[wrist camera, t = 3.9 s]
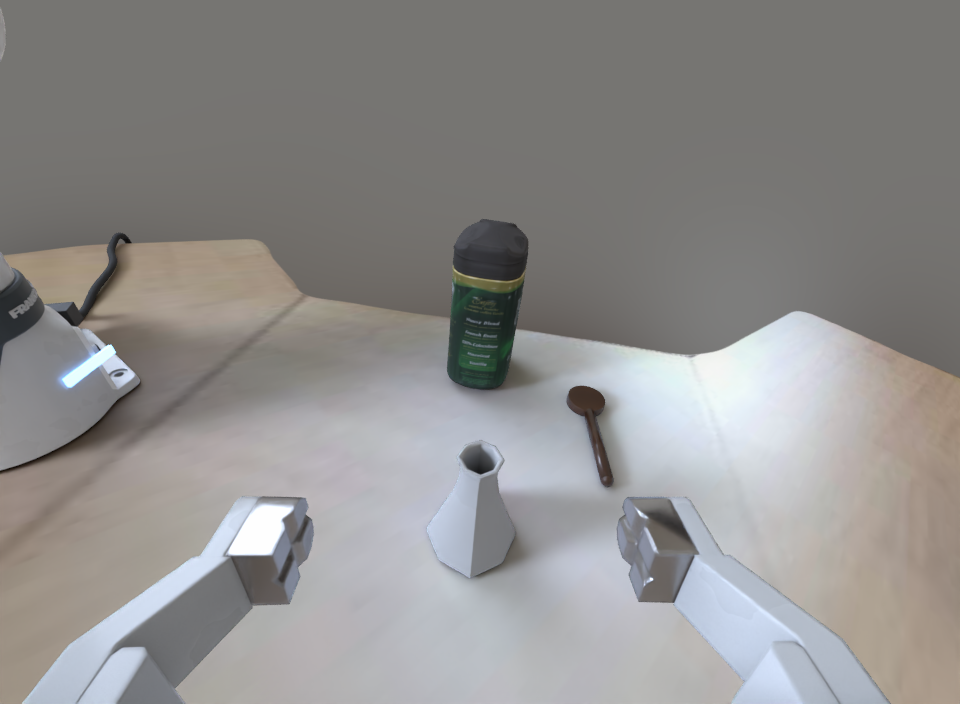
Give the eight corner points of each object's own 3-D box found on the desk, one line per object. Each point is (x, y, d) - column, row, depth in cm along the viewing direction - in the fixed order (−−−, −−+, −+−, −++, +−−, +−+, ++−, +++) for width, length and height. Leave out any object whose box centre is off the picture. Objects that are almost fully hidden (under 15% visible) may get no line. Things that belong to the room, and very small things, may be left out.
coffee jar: (505, 397, 48) (529, 251, 37) (441, 386, 49) (446, 239, 38) (512, 351, 56) (534, 219, 45) (457, 342, 56) (465, 209, 45)
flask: (469, 598, 30) (480, 526, 24) (411, 529, 34) (408, 453, 28) (530, 535, 34) (552, 462, 28) (472, 481, 38) (481, 406, 32)
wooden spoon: (629, 490, 39) (632, 483, 38) (584, 487, 39) (587, 479, 38) (598, 393, 50) (601, 385, 49) (564, 390, 50) (566, 383, 49)
